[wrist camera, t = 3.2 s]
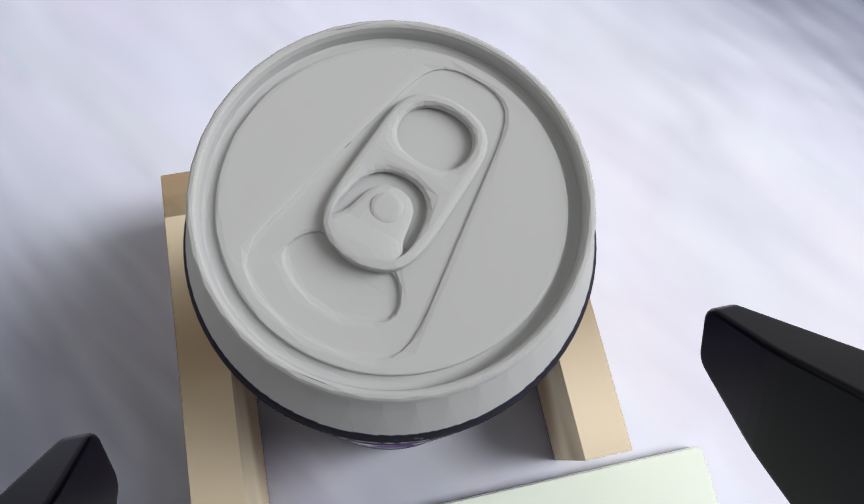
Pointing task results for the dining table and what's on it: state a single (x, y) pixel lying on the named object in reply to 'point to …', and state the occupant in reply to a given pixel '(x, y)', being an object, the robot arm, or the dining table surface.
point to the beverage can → (390, 232)
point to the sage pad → (619, 484)
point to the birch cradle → (238, 412)
